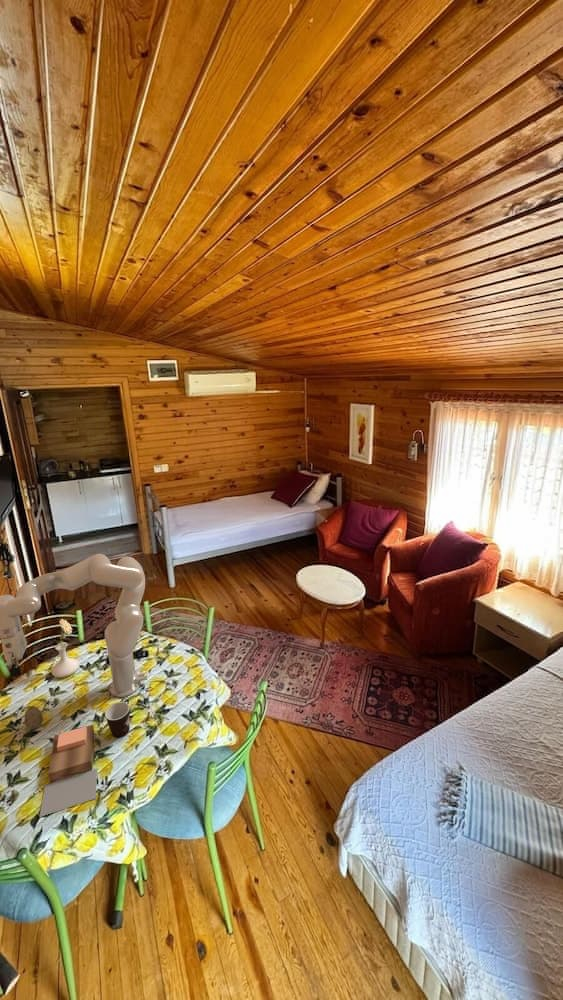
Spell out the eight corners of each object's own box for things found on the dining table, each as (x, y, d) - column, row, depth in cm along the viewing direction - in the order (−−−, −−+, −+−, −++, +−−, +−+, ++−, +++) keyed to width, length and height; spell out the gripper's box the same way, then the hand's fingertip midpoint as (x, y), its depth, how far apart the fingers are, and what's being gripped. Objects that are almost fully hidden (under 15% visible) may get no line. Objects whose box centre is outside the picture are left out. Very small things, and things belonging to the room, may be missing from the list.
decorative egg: (46, 720, 161) (42, 700, 158) (41, 732, 155) (36, 712, 152) (30, 722, 160) (25, 702, 157) (24, 735, 154) (18, 714, 151)
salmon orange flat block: (87, 730, 152) (86, 726, 151) (85, 743, 146) (85, 739, 146) (60, 738, 148) (59, 733, 148) (58, 751, 143) (57, 747, 143)
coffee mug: (118, 744, 150) (114, 723, 147) (103, 734, 155) (100, 713, 151) (143, 722, 160) (140, 702, 156) (129, 713, 164) (126, 693, 161)
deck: (94, 732, 155) (93, 724, 154) (92, 769, 141) (90, 760, 140) (56, 743, 151) (54, 735, 150) (50, 782, 137) (48, 773, 135)
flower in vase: (72, 680, 182) (62, 632, 174) (47, 679, 182) (36, 632, 174) (86, 660, 194) (77, 614, 186) (62, 660, 194) (53, 614, 186)
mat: (97, 769, 141) (97, 768, 141) (95, 798, 131) (95, 798, 131) (45, 785, 136) (44, 784, 136) (39, 817, 126) (39, 817, 126)
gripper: (15, 640, 140) (25, 680, 145) (26, 613, 155) (35, 650, 161) (-11, 645, 138) (1, 685, 143) (4, 617, 153) (14, 654, 159)
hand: (19, 667), depth 152 cm, fingers open, 9 cm apart
